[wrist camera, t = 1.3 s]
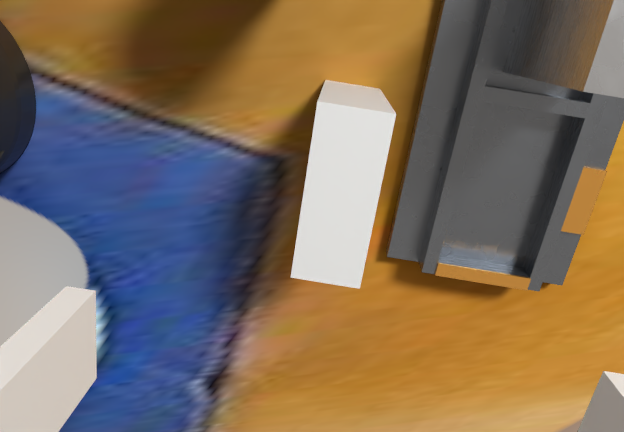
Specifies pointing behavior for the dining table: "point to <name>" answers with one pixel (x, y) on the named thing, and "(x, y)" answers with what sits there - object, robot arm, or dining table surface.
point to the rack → (511, 139)
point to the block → (342, 183)
